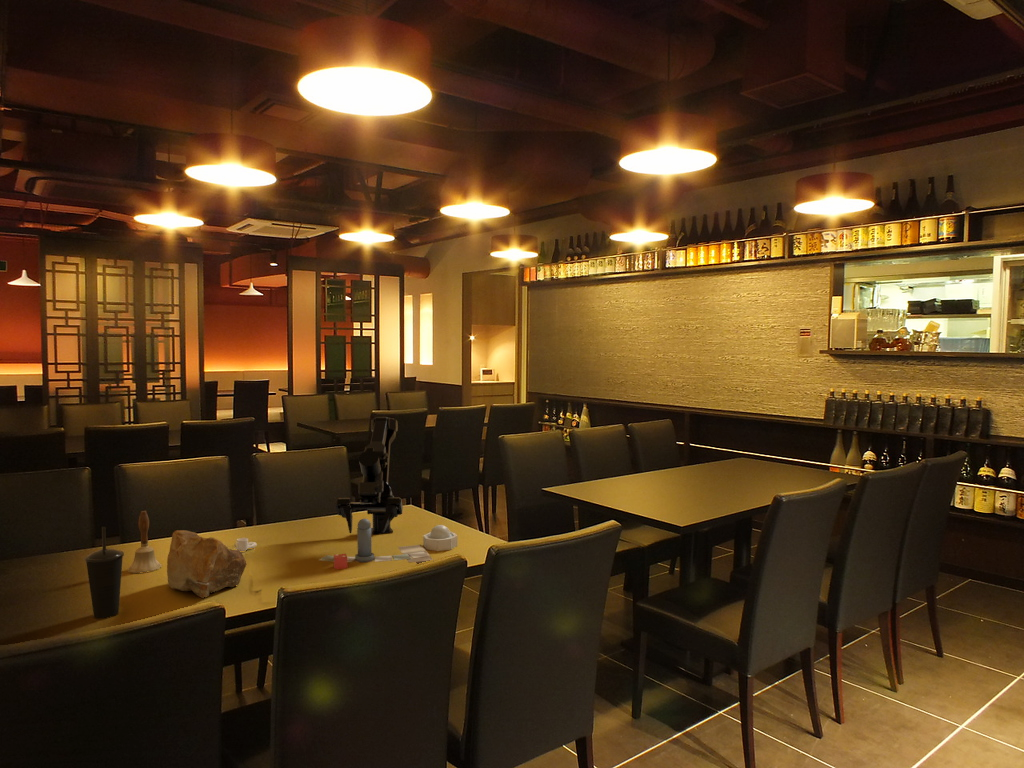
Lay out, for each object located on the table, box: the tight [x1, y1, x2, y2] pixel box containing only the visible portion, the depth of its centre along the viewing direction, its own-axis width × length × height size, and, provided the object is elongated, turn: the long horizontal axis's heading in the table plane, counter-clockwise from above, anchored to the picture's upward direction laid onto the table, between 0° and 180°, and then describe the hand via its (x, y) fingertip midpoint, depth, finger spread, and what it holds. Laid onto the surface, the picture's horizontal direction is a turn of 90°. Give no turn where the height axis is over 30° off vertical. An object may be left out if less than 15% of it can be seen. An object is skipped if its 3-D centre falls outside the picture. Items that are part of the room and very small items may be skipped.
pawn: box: [354, 518, 375, 563], centre depth 194 cm, size 5×5×11 cm
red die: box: [333, 553, 348, 570], centre depth 187 cm, size 3×3×3 cm
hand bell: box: [127, 510, 163, 574], centre depth 190 cm, size 8×8×16 cm
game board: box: [318, 544, 434, 565], centre depth 196 cm, size 16×30×1 cm, turn 110°
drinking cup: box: [84, 526, 125, 619], centre depth 157 cm, size 8×8×20 cm
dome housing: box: [422, 531, 458, 552], centre depth 211 cm, size 10×10×3 cm
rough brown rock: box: [166, 529, 247, 599], centre depth 174 cm, size 23×16×15 cm
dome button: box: [428, 524, 452, 539], centre depth 211 cm, size 7×7×6 cm
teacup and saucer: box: [234, 537, 258, 551], centre depth 206 cm, size 9×8×4 cm
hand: (366, 532), depth 197 cm, fingers open, 9 cm apart
